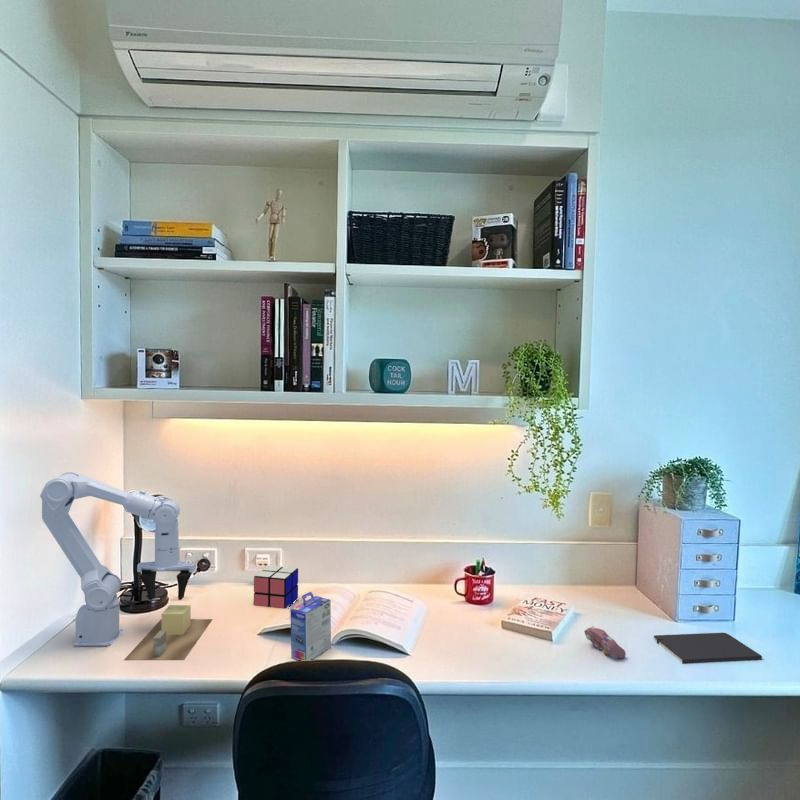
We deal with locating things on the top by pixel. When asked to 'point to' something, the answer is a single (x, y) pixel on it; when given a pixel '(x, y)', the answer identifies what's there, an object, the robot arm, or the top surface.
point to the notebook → (706, 648)
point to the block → (176, 619)
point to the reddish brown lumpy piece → (604, 642)
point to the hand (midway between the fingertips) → (166, 598)
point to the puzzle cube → (276, 587)
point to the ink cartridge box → (310, 627)
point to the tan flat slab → (168, 642)
